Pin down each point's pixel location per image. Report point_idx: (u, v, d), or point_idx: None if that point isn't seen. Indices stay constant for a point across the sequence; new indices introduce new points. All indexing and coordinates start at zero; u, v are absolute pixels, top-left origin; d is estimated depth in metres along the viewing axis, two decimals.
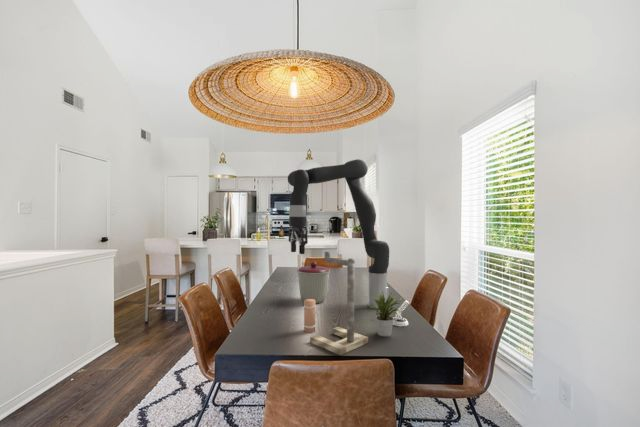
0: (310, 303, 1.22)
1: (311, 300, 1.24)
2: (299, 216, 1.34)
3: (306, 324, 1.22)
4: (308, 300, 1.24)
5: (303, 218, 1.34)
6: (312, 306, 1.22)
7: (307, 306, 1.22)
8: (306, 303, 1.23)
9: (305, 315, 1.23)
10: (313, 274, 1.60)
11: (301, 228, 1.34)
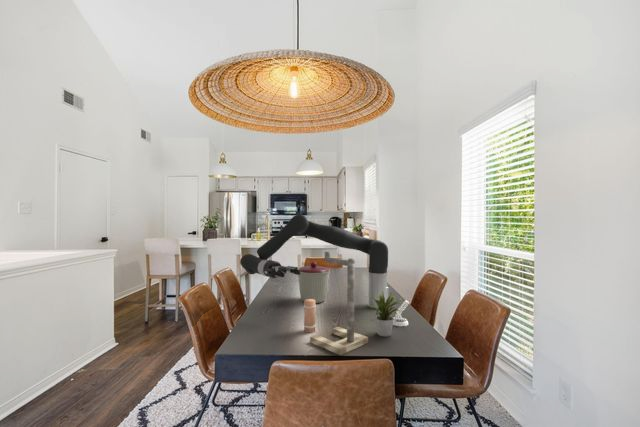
0: (310, 303, 1.22)
1: (311, 300, 1.24)
2: (263, 271, 1.41)
3: (306, 324, 1.22)
4: (308, 300, 1.24)
5: (264, 267, 1.41)
6: (312, 306, 1.22)
7: (307, 306, 1.22)
8: (306, 303, 1.23)
9: (305, 315, 1.23)
10: (313, 274, 1.60)
11: None
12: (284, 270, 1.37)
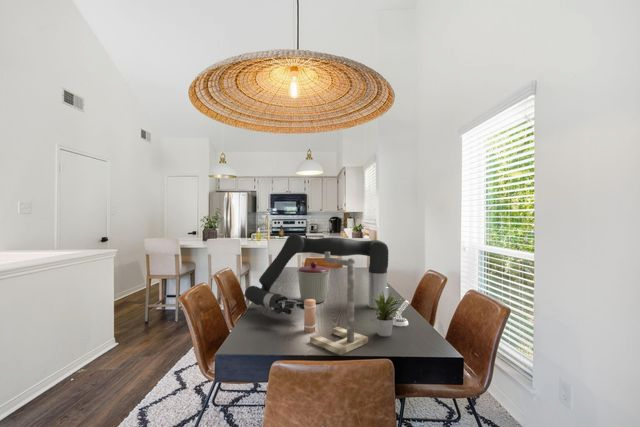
0: (310, 303, 1.22)
1: (311, 300, 1.24)
2: (269, 305, 1.38)
3: (306, 324, 1.22)
4: (308, 300, 1.24)
5: (270, 301, 1.37)
6: (312, 306, 1.22)
7: (307, 306, 1.22)
8: (306, 303, 1.23)
9: (305, 315, 1.23)
10: (313, 274, 1.60)
11: (275, 306, 1.34)
12: (291, 305, 1.34)
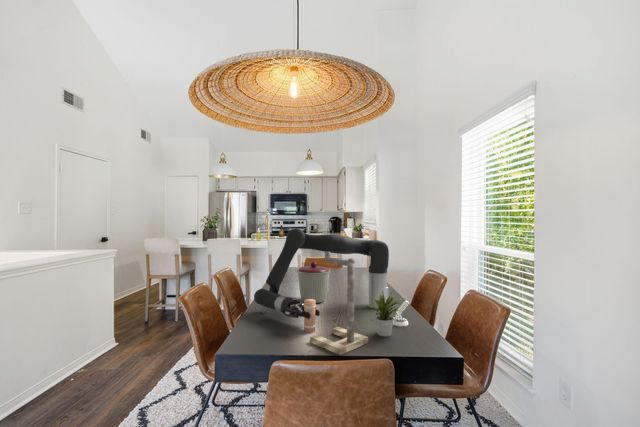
0: (310, 303, 1.22)
1: (311, 300, 1.24)
2: (280, 309, 1.32)
3: (306, 324, 1.22)
4: (308, 300, 1.24)
5: (282, 305, 1.31)
6: (312, 306, 1.22)
7: (307, 306, 1.22)
8: (306, 303, 1.23)
9: None
10: (313, 274, 1.60)
11: None
12: (301, 309, 1.27)
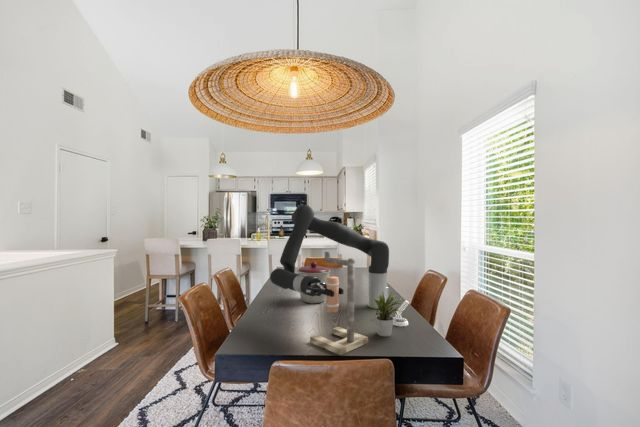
0: (333, 280, 1.13)
1: (334, 277, 1.16)
2: (300, 288, 1.23)
3: (329, 303, 1.14)
4: (331, 277, 1.16)
5: (301, 284, 1.22)
6: (335, 283, 1.14)
7: (330, 283, 1.13)
8: (329, 280, 1.14)
9: None
10: (313, 274, 1.60)
11: None
12: (323, 288, 1.19)
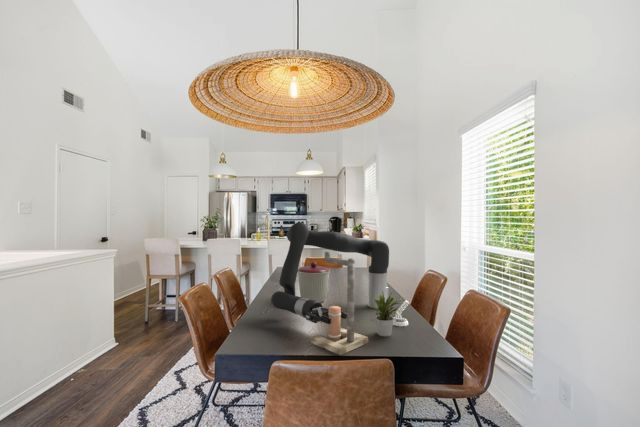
0: (335, 311, 1.13)
1: (336, 307, 1.15)
2: (301, 313, 1.22)
3: (331, 333, 1.13)
4: (333, 307, 1.15)
5: (303, 308, 1.22)
6: (337, 314, 1.13)
7: (333, 313, 1.13)
8: (331, 311, 1.13)
9: (330, 324, 1.13)
10: (313, 274, 1.60)
11: None
12: (327, 313, 1.18)
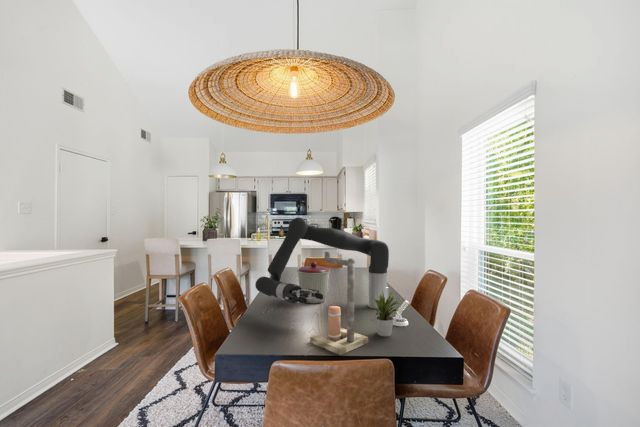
0: (335, 310, 1.13)
1: (336, 307, 1.15)
2: (282, 296, 1.31)
3: (331, 333, 1.13)
4: (332, 307, 1.15)
5: (283, 291, 1.31)
6: (337, 314, 1.13)
7: (332, 313, 1.13)
8: (331, 310, 1.13)
9: (330, 324, 1.13)
10: (313, 274, 1.60)
11: None
12: (305, 294, 1.28)
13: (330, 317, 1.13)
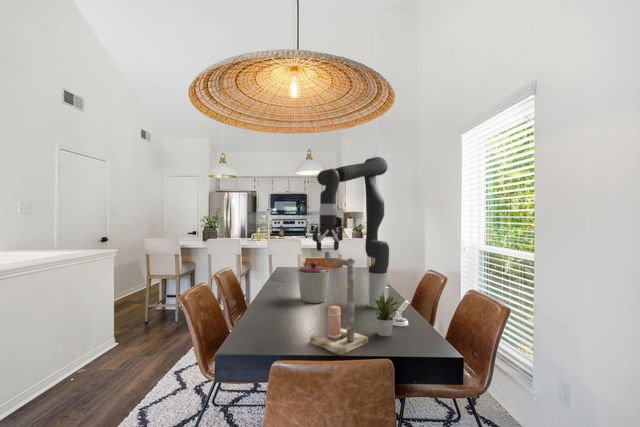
0: (335, 310, 1.13)
1: (336, 307, 1.15)
2: None
3: (331, 333, 1.13)
4: (332, 307, 1.15)
5: (322, 216, 1.38)
6: (337, 313, 1.13)
7: (332, 313, 1.13)
8: (331, 310, 1.13)
9: (330, 323, 1.13)
10: (313, 274, 1.60)
11: (320, 226, 1.38)
12: (329, 236, 1.40)
13: (330, 317, 1.13)
